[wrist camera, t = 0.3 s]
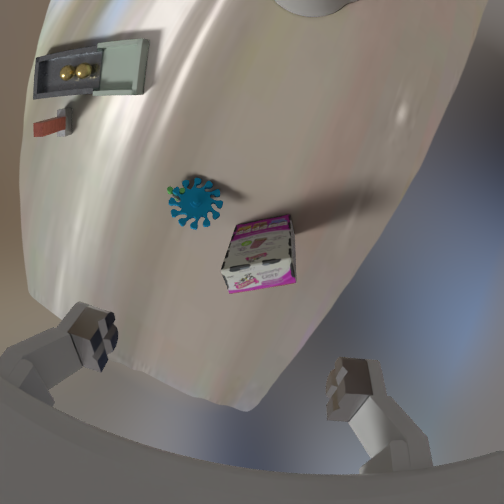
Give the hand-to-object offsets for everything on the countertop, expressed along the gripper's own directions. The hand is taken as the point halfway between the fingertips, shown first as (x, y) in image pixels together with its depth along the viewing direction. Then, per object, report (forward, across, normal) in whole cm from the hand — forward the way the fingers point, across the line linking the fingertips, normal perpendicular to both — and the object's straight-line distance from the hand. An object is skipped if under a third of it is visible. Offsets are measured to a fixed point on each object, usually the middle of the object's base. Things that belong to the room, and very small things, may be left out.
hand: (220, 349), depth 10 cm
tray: (+47, +32, -11) cm, 58 cm away
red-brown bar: (+47, +45, 0) cm, 65 cm away
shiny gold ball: (+46, +39, -11) cm, 62 cm away
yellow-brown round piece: (+46, +44, -11) cm, 65 cm away
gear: (+48, +13, +13) cm, 51 cm away
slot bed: (+47, +45, -11) cm, 66 cm away
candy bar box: (+48, -1, +18) cm, 51 cm away
